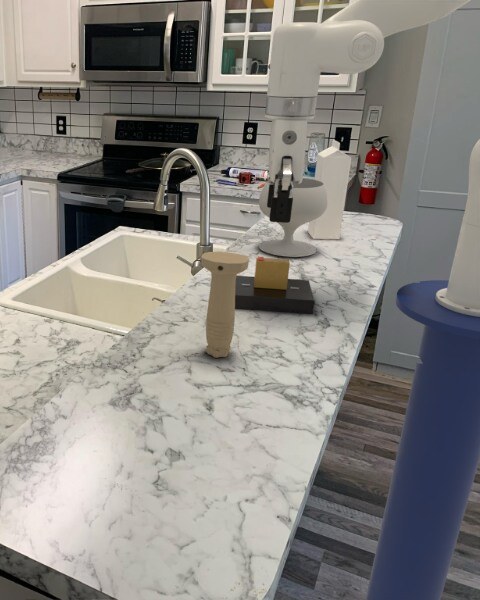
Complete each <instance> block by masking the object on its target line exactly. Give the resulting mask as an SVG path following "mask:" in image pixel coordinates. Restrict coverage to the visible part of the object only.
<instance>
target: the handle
mask: <svg viewBox="0 0 480 600" xmlns="http://www.w3.org/2000/svg"><path fill="white" fill-rule="evenodd" d="M200 263H201V266H202V267H203V268H204V269H206V270H207V271H209V272H210V273H211V274H210V278H211V279H210V286H209V287H210V288H209V296H208V303H207V310H206V322H205V339H206V343H207V345H206V353H207V355H210V356H212V357H213V358H216V359H218V358H226V357H228V354H229V353H230V350H231V343H232V341H233V337H234V330H235V319H236V308H235V282H236V276H238V274H240V273H243V272H245V271H246V270H248V268H249V265H250V258H249V257H248V256H247V255H244V254H240V253H236V252H229V251H207V252H204V253H203V254H201V262H200Z"/></svg>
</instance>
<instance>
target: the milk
mask: <svg viewBox="0 0 480 600" xmlns="http://www.w3.org/2000/svg"><path fill="white" fill-rule="evenodd" d="M340 147H341V143H340V142H339V141H337V140H335V139H332V141H331V146H329V147H327V148H325V149H324V150H323V149H322V150H321V151H320V152H318V153H317V155H316V156H317V157H316V165H315V171H314V179H313V180H317V181H320V182H322V183H323V184H324V186H325V188H326V192H327V208H326V210H325V212H324V213H323V214H322V215H321V216H320V217H319V218H317V219H315V220H313V221H310V222H308V227H307V233H308V234H309V235H310V237H311V238H312V239H313V240H340V238H341V232H342V225H343V220H344V219H343V218H344V211H345V205H346V198H347V191H348V186H349V185H348V184H349V178H350V170H351V164H352V157H351V156H349V155H348V154H346V153H345V152H343V151H342V150H340Z"/></svg>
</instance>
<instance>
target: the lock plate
mask: <svg viewBox="0 0 480 600" xmlns="http://www.w3.org/2000/svg"><path fill="white" fill-rule="evenodd" d="M254 278H255V276H250V275H249V276H248V275H236V282H235V309H239V310H243V309H244V310H255V311H265V312H266V311H267V312H280V313H293V314H305V315H307V314H308V315H313V314H314V308H315V297H314V293H313V289H312V286H311V283H310V280H309V279H298V278H297V279H295V278H288V282H287V290H283V289H268V288H254Z"/></svg>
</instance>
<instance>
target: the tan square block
mask: <svg viewBox="0 0 480 600" xmlns="http://www.w3.org/2000/svg"><path fill="white" fill-rule="evenodd" d="M290 264H291V263H290V259H289V258H275V257H274V258H273V257H264V256H260V255H259V256H257V257H255V267H254V277H255V278H254V288H268V289H283V290H287V282H288V279H289V273H290V266H291V265H290Z"/></svg>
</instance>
